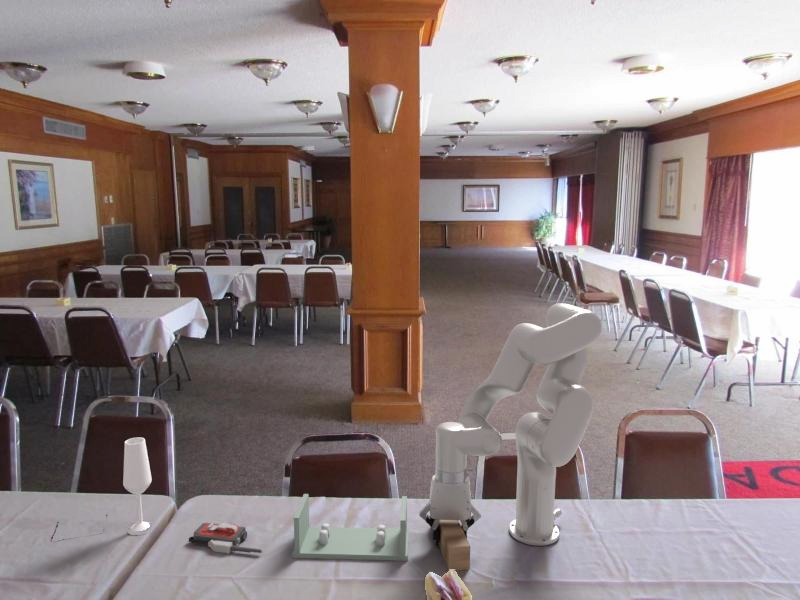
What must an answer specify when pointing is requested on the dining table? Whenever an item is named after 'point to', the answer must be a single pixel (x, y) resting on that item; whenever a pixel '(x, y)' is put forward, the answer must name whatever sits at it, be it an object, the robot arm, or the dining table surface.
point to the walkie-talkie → (222, 537)
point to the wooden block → (454, 545)
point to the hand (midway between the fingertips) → (449, 542)
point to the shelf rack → (349, 539)
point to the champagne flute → (137, 475)
